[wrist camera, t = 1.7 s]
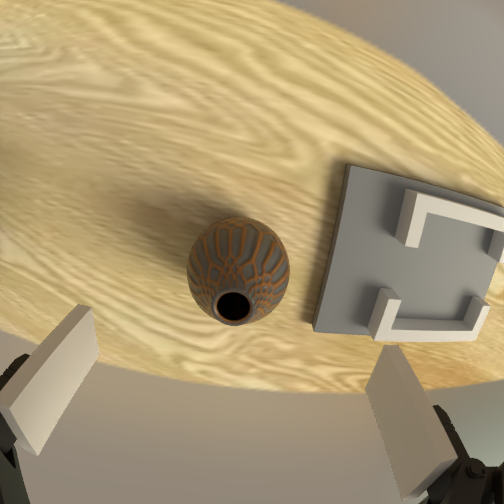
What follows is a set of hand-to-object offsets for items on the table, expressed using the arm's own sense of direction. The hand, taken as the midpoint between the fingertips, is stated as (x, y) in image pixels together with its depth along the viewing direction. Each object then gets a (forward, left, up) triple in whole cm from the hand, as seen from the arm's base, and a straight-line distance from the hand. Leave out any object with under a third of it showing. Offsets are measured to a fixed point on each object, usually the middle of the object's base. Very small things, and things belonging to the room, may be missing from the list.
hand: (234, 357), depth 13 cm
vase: (0, 0, -13) cm, 13 cm away
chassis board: (+16, +1, -13) cm, 20 cm away
